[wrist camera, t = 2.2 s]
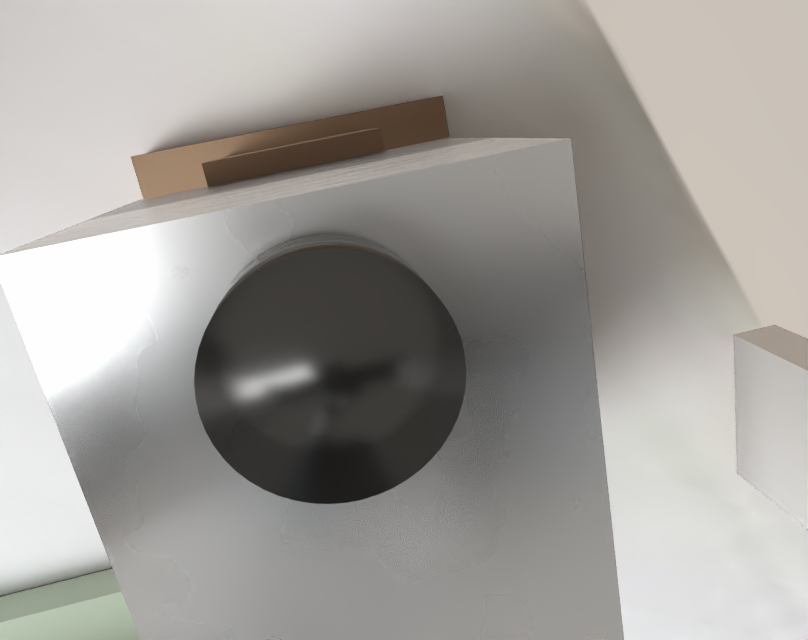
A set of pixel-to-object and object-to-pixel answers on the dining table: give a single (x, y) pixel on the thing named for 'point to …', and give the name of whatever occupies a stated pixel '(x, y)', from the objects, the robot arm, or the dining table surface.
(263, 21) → the dining table surface
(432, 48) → the dining table surface
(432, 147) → the base plate
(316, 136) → the stand
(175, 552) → the cover plate
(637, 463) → the dining table surface
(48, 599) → the stand
